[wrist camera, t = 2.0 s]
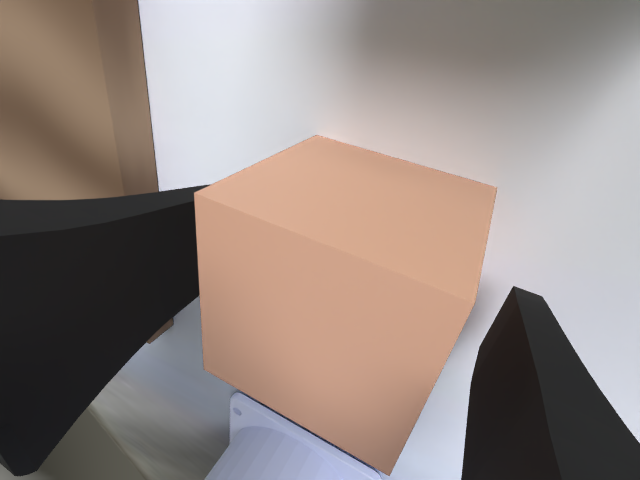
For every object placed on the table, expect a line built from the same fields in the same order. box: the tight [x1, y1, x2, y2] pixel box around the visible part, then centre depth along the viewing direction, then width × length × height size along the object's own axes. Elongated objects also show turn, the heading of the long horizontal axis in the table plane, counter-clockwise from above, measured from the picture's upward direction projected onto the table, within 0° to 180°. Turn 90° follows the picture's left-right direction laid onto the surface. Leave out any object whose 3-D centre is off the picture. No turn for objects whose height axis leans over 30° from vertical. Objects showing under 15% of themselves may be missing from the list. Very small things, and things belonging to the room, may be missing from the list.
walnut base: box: [0, 0, 173, 344], centre depth 15 cm, size 18×14×2 cm
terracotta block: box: [194, 135, 497, 476], centre depth 9 cm, size 5×5×5 cm
